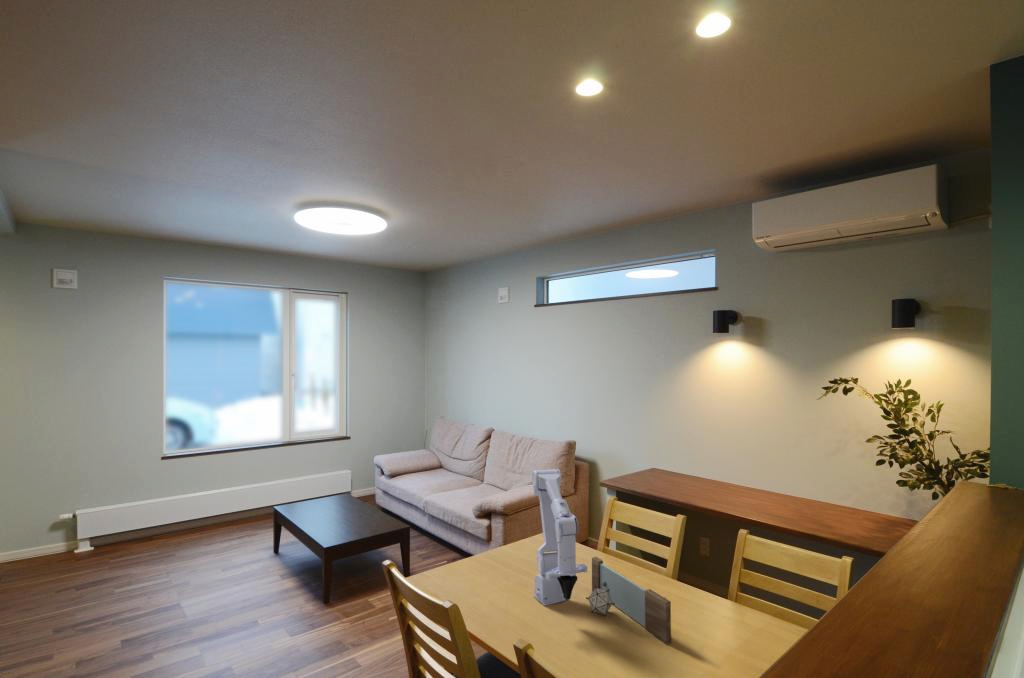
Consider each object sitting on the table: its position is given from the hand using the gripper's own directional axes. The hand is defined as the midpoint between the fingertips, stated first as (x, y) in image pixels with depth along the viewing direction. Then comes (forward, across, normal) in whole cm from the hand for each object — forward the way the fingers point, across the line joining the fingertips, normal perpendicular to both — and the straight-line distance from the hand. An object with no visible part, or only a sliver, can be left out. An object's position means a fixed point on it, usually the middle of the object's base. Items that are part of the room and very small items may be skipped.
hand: (566, 598), depth 163 cm
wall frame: (+8, +21, -5) cm, 22 cm away
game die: (+8, +13, 0) cm, 15 cm away
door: (+7, +20, -2) cm, 21 cm away
